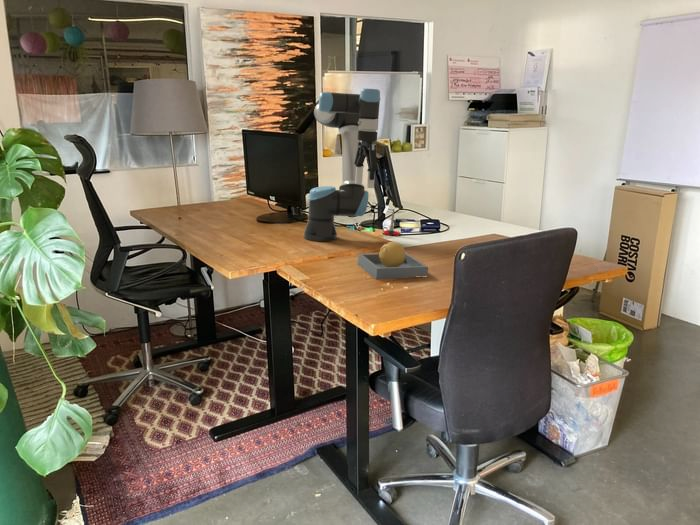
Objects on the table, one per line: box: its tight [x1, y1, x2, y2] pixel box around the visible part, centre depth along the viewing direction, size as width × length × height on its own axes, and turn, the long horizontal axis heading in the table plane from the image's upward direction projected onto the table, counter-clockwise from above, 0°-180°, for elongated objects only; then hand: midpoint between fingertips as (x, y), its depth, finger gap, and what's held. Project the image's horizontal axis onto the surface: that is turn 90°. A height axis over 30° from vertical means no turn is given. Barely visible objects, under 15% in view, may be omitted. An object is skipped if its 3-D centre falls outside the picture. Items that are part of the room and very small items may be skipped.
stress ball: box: [379, 241, 406, 267], centre depth 206 cm, size 10×10×10 cm
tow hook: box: [382, 208, 401, 237], centre depth 268 cm, size 8×13×9 cm
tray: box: [357, 252, 429, 280], centre depth 206 cm, size 20×20×4 cm
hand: (364, 185), depth 218 cm, fingers open, 13 cm apart
